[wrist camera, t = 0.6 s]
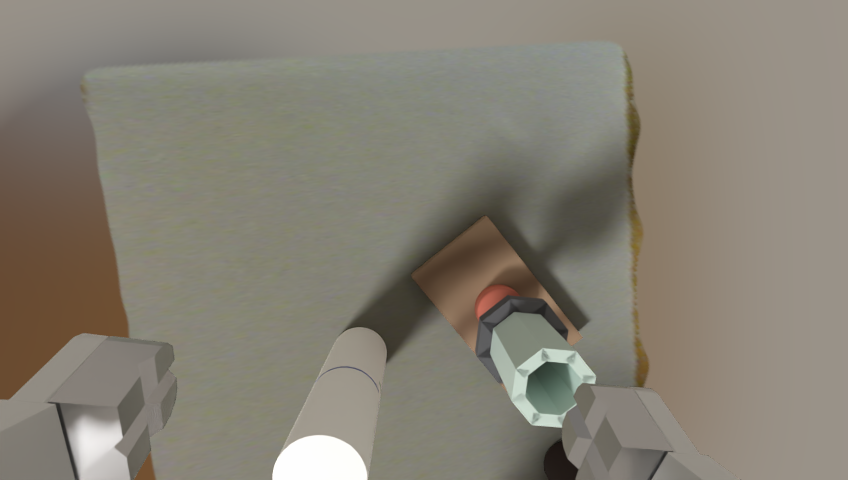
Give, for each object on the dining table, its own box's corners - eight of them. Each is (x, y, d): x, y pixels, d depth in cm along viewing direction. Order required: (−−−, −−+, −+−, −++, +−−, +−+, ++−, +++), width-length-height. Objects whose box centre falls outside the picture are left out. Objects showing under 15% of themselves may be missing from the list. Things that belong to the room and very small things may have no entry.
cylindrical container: (371, 317, 58) (339, 419, 33) (396, 364, 59) (383, 497, 34) (322, 341, 58) (255, 460, 33) (348, 388, 59) (301, 537, 34)
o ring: (578, 343, 45) (583, 349, 44) (511, 395, 46) (514, 402, 44) (527, 279, 44) (531, 282, 43) (459, 332, 45) (461, 337, 43)
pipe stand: (577, 332, 59) (638, 387, 43) (505, 387, 59) (539, 461, 43) (484, 215, 56) (512, 227, 40) (411, 273, 57) (410, 308, 41)
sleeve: (567, 348, 43) (609, 393, 34) (517, 386, 44) (545, 442, 34) (529, 300, 43) (561, 333, 33) (478, 339, 43) (496, 383, 34)
